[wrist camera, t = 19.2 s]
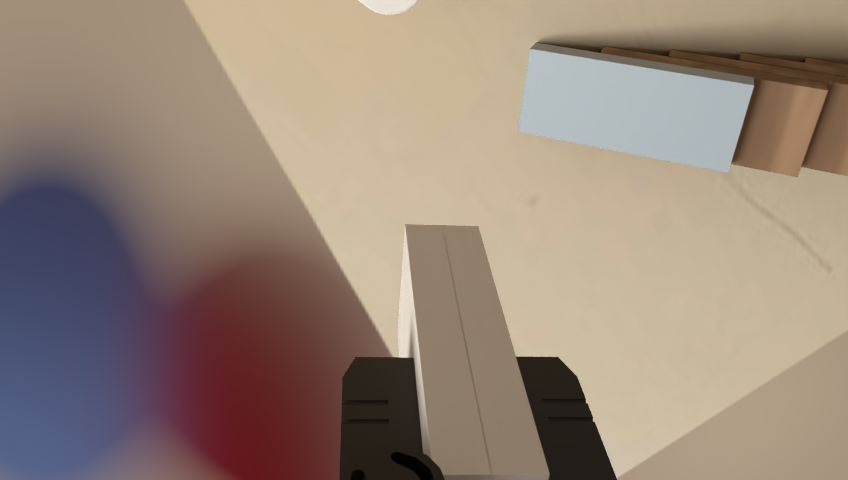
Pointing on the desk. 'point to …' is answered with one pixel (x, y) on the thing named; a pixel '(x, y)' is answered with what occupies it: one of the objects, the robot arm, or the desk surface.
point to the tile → (634, 105)
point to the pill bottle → (389, 6)
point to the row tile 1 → (765, 115)
